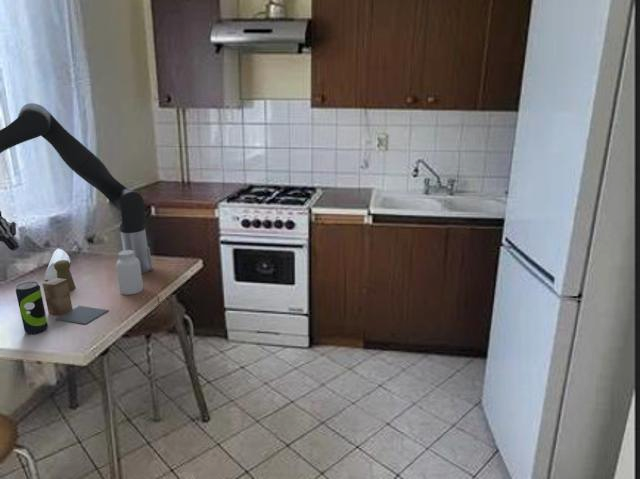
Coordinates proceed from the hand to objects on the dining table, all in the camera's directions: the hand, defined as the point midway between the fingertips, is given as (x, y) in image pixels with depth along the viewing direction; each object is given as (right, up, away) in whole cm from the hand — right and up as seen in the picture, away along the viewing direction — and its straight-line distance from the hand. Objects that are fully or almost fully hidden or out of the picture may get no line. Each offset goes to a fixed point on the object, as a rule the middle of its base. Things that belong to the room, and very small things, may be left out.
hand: (15, 248), depth 157 cm
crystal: (-6, -10, +38) cm, 39 cm away
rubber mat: (+23, -22, -2) cm, 32 cm away
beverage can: (+14, -25, -12) cm, 31 cm away
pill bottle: (+32, -16, +16) cm, 39 cm away
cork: (+7, -15, +19) cm, 26 cm away
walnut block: (+15, -21, 0) cm, 26 cm away
